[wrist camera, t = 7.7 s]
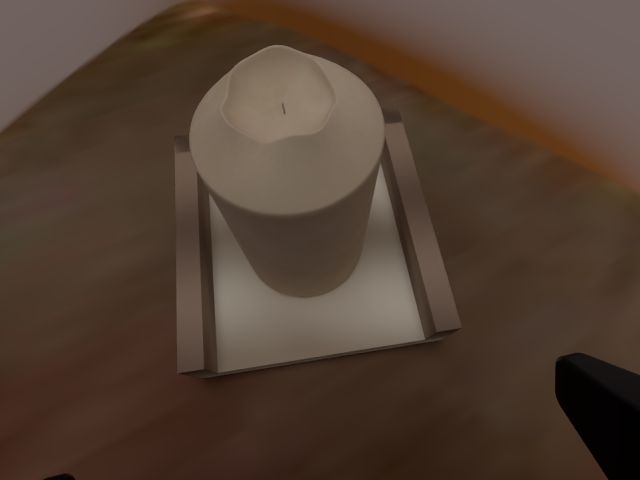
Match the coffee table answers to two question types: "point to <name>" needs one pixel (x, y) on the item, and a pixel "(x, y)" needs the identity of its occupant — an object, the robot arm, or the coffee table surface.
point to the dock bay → (316, 311)
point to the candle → (291, 165)
